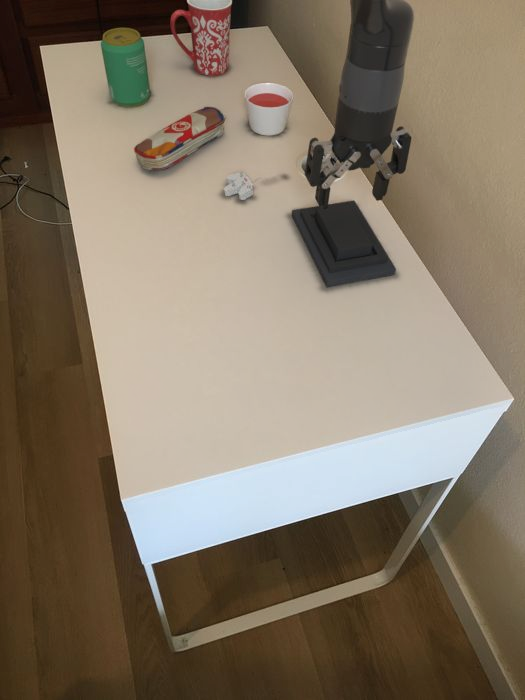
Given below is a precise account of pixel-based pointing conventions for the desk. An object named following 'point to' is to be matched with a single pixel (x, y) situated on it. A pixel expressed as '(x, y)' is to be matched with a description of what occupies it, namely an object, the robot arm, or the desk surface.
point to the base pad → (345, 269)
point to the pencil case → (180, 139)
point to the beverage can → (125, 66)
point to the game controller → (239, 185)
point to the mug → (207, 34)
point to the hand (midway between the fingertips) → (350, 201)
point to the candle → (268, 107)
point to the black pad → (343, 232)
